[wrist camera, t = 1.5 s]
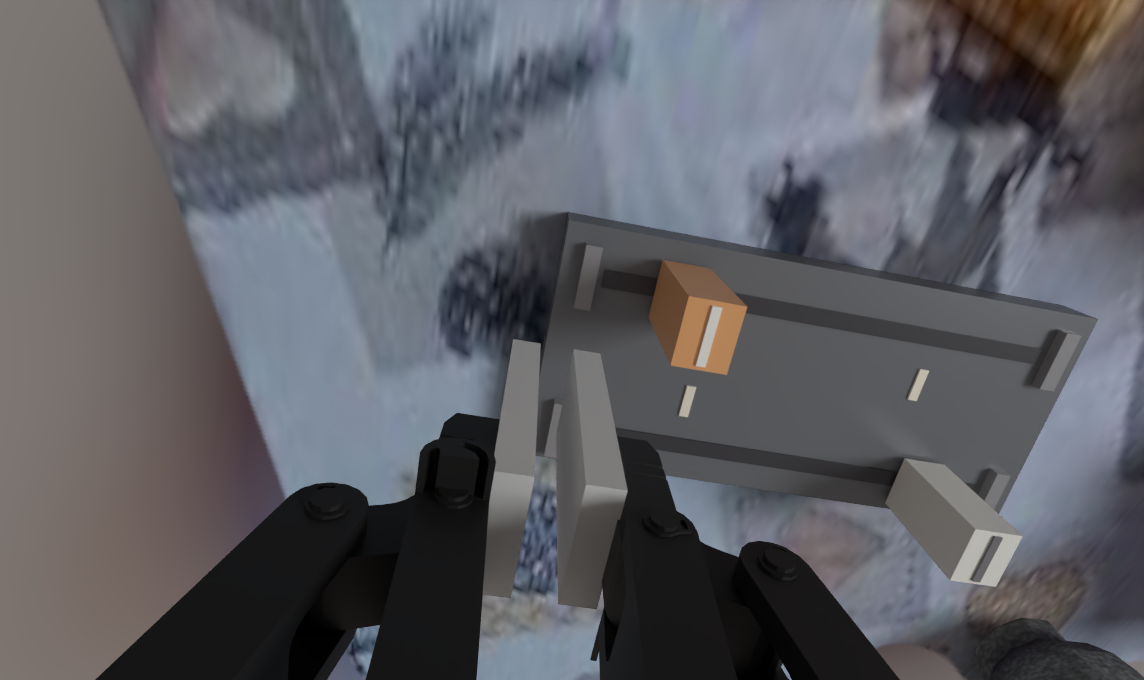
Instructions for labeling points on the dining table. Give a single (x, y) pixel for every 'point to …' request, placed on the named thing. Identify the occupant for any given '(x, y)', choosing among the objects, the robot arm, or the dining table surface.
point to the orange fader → (696, 317)
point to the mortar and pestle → (1044, 656)
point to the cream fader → (952, 523)
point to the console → (809, 368)
